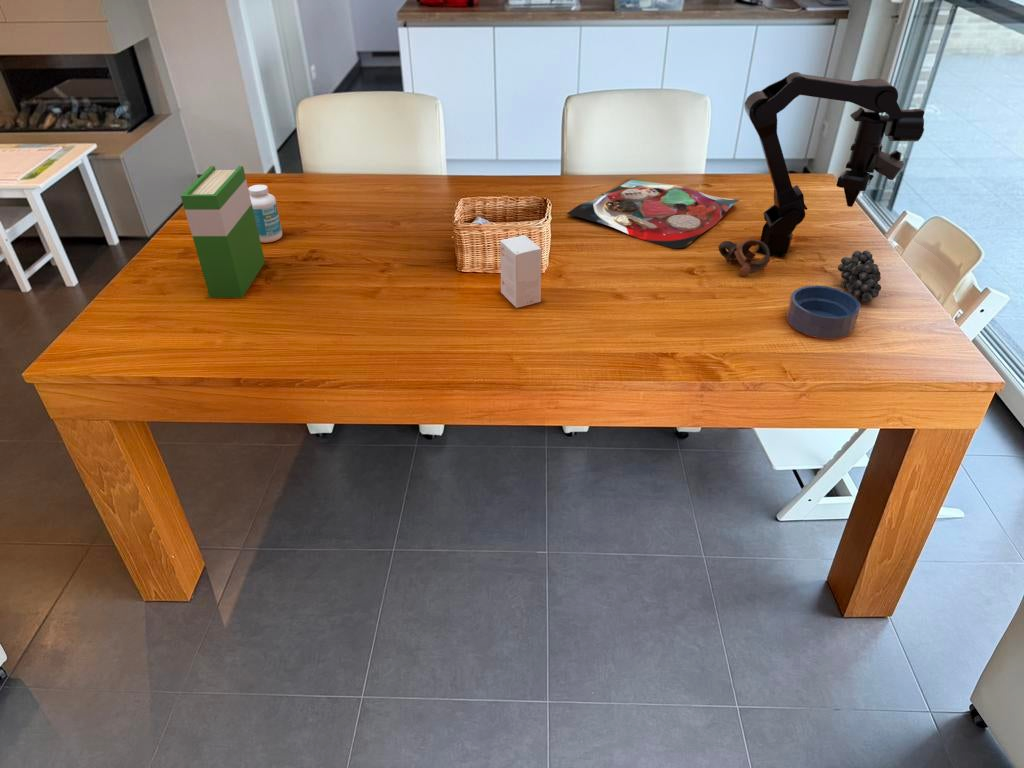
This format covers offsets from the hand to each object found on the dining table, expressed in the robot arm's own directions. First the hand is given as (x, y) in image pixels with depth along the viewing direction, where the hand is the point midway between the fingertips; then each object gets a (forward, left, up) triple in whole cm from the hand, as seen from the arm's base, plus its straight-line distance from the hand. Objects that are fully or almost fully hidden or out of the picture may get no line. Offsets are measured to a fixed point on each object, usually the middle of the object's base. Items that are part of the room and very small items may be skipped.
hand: (849, 206), depth 175 cm
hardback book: (-118, -85, -12) cm, 146 cm away
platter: (-49, 0, -12) cm, 50 cm away
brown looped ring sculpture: (-18, -20, -12) cm, 29 cm away
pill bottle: (-129, -65, -12) cm, 145 cm away
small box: (-56, -59, -12) cm, 82 cm away
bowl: (+4, -37, -12) cm, 39 cm away
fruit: (+8, -20, -12) cm, 24 cm away
